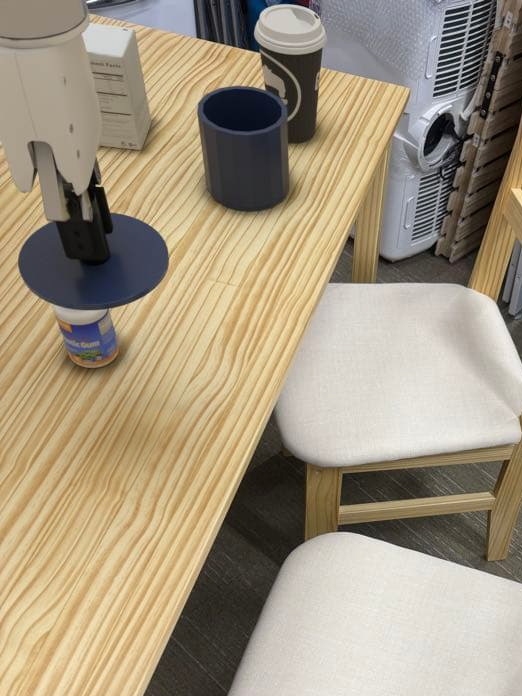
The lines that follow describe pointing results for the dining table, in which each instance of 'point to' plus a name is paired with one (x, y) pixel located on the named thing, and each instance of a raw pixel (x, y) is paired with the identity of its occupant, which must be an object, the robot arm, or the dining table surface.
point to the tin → (244, 147)
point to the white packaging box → (118, 85)
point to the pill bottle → (88, 336)
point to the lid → (95, 265)
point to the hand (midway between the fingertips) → (90, 242)
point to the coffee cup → (292, 63)
